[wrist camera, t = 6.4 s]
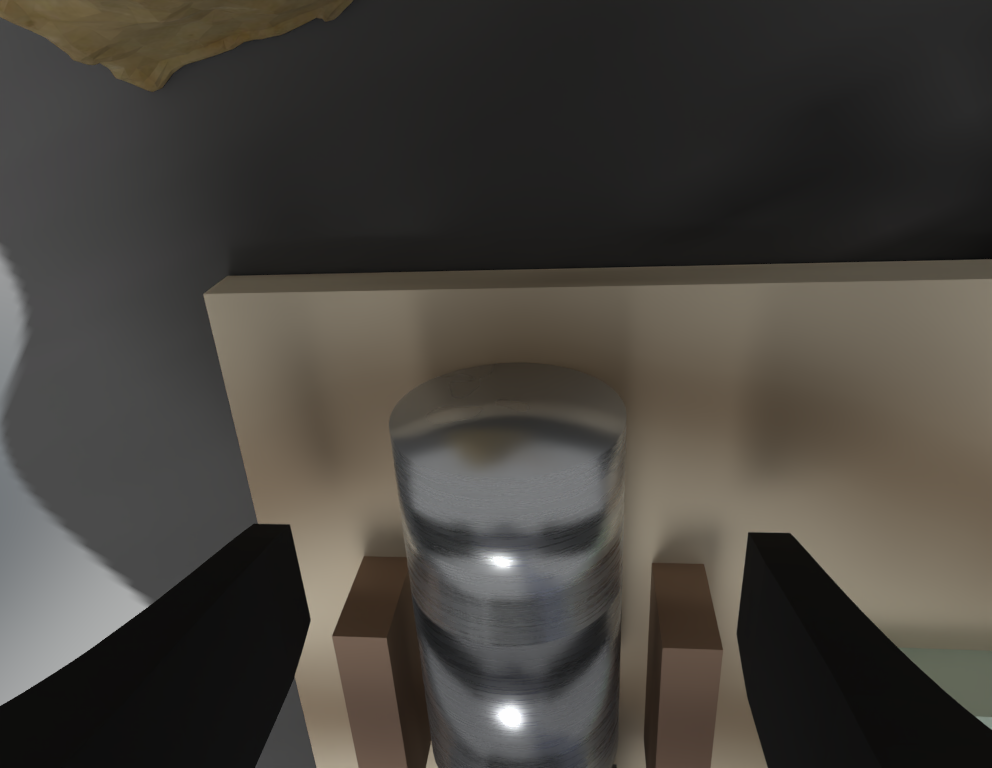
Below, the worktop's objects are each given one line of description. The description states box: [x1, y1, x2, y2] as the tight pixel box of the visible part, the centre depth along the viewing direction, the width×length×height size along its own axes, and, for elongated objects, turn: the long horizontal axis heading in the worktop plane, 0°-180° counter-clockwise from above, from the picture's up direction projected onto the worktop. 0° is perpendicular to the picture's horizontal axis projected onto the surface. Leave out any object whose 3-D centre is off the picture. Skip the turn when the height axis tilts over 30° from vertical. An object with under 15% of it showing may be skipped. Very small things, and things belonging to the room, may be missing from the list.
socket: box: [332, 556, 723, 768], centre depth 15 cm, size 5×7×2 cm
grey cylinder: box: [389, 363, 627, 768], centre depth 13 cm, size 7×4×4 cm, turn 3°
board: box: [203, 259, 992, 768], centre depth 17 cm, size 21×20×1 cm
